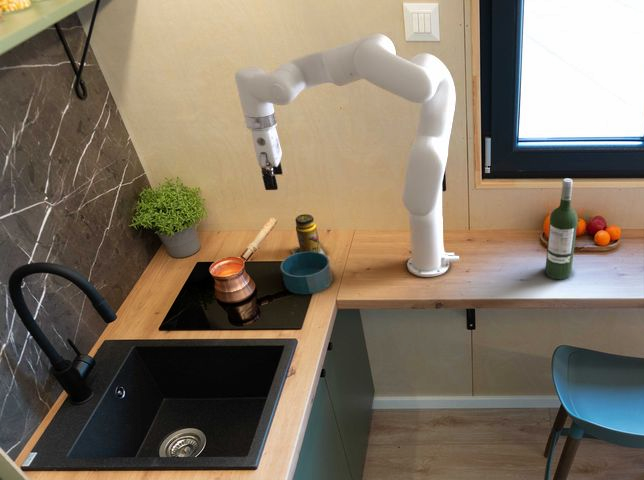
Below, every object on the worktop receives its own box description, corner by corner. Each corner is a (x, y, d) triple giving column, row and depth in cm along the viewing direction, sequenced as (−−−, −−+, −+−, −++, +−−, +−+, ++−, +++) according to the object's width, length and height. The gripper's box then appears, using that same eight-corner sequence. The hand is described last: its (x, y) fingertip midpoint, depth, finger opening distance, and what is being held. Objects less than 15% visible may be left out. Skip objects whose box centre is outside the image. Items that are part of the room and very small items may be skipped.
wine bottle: (545, 279, 178) (554, 186, 159) (544, 265, 185) (552, 173, 166) (571, 280, 178) (583, 187, 159) (570, 266, 184) (581, 174, 166)
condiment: (325, 254, 186) (319, 219, 178) (298, 261, 182) (291, 226, 175) (317, 243, 190) (310, 209, 183) (290, 251, 187) (283, 216, 179)
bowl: (334, 267, 180) (331, 250, 176) (330, 293, 170) (326, 275, 166) (288, 269, 179) (284, 252, 175) (281, 295, 168) (277, 277, 165)
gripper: (270, 132, 148) (284, 195, 159) (280, 108, 162) (292, 168, 172) (239, 132, 147) (255, 196, 158) (251, 108, 161) (265, 169, 171)
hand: (274, 181), depth 165 cm, fingers open, 9 cm apart
